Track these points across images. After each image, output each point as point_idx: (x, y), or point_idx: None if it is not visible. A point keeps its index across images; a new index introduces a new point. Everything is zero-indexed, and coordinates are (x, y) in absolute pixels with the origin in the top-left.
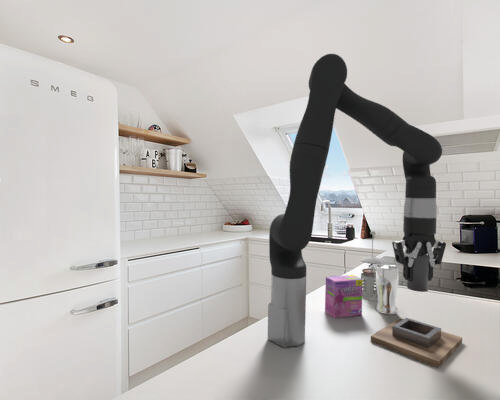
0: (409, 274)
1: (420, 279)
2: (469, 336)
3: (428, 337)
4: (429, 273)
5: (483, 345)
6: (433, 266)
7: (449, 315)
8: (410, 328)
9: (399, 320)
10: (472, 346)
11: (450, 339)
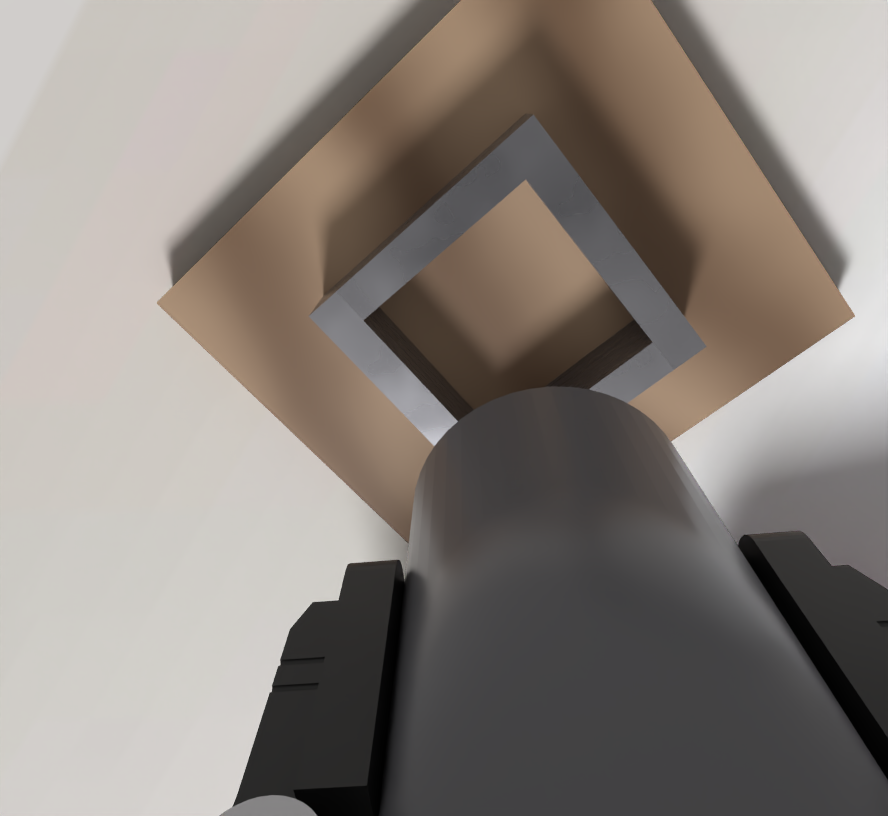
0: (862, 617)
1: (645, 490)
2: (67, 391)
3: (527, 133)
4: (379, 651)
5: (35, 264)
6: (243, 805)
7: (50, 671)
8: None
9: None
10: (123, 247)
11: (265, 269)
